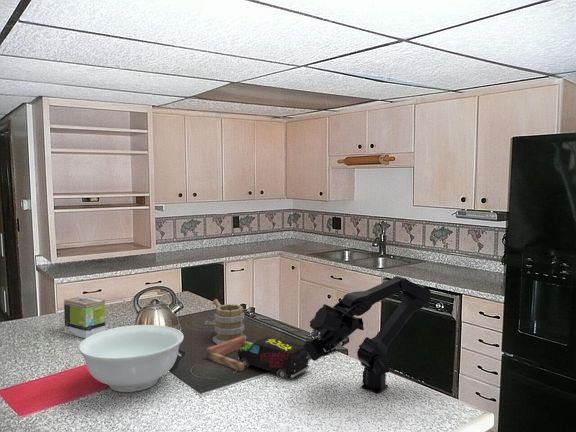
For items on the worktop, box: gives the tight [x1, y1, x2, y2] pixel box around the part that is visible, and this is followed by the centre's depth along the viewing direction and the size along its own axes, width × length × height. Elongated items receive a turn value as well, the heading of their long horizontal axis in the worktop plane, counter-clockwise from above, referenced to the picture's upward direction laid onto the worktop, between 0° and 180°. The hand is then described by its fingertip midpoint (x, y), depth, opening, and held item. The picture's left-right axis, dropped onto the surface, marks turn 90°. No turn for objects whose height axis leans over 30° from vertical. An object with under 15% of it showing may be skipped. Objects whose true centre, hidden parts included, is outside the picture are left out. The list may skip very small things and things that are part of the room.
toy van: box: [237, 336, 310, 380], centre depth 168 cm, size 11×25×10 cm, turn 55°
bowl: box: [78, 324, 184, 393], centre depth 156 cm, size 32×32×15 cm
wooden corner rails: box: [206, 336, 253, 372], centre depth 178 cm, size 18×18×4 cm
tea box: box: [63, 295, 106, 339], centre depth 204 cm, size 15×10×15 cm, turn 58°
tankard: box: [212, 298, 247, 345], centre depth 199 cm, size 20×13×15 cm, turn 34°
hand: (312, 356), depth 156 cm, fingers closed
